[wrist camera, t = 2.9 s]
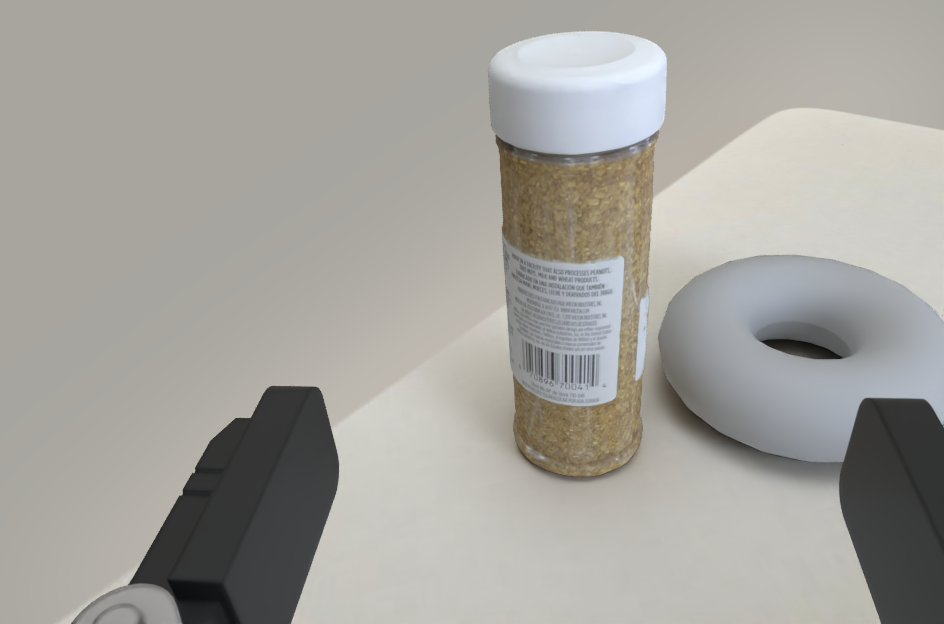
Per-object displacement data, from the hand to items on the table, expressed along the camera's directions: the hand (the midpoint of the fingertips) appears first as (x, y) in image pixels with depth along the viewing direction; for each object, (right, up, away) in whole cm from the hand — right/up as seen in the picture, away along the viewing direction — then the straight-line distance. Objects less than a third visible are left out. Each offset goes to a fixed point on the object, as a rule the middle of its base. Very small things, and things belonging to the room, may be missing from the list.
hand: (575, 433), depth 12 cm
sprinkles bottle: (+2, -3, +15) cm, 16 cm away
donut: (+10, -1, +17) cm, 20 cm away
